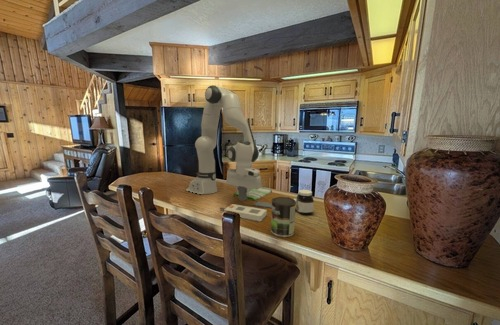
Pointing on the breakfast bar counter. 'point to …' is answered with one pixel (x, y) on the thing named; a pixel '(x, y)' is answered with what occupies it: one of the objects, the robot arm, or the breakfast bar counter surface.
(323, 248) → the breakfast bar counter surface
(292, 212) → the coffee can
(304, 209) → the spread jar
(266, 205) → the phone slab
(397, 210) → the breakfast bar counter surface
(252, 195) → the dish towel
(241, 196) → the charger plug
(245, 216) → the power strip
